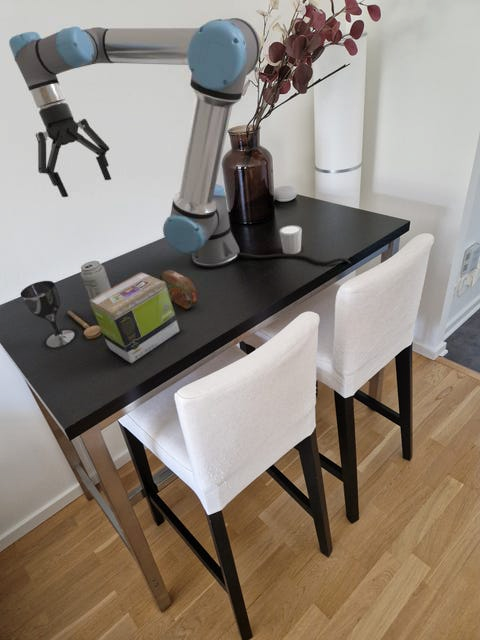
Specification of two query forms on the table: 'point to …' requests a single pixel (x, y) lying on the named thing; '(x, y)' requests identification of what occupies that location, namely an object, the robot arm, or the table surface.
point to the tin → (179, 289)
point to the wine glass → (46, 309)
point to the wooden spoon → (87, 327)
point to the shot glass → (291, 239)
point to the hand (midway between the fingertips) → (87, 188)
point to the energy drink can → (94, 278)
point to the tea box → (135, 316)
